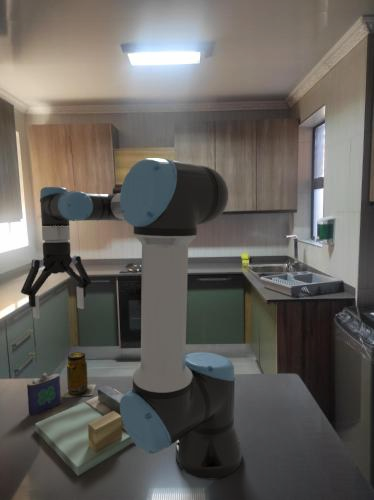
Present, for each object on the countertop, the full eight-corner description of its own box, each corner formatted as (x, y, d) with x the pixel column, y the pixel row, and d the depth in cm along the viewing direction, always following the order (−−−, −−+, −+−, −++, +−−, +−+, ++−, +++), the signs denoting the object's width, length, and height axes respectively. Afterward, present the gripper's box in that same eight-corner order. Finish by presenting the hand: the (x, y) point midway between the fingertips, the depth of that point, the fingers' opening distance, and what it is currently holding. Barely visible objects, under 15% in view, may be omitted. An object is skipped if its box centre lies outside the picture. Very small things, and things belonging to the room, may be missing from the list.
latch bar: (140, 416, 87) (140, 401, 86) (128, 423, 84) (127, 408, 84) (108, 395, 97) (108, 382, 97) (96, 401, 94) (96, 387, 94)
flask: (58, 400, 99) (57, 366, 98) (63, 404, 97) (61, 369, 96) (27, 414, 92) (25, 377, 91) (31, 418, 90) (29, 381, 89)
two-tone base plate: (162, 424, 87) (161, 397, 86) (77, 476, 70) (76, 442, 69) (114, 394, 102) (113, 371, 102) (35, 430, 85) (34, 403, 84)
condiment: (69, 386, 108) (68, 350, 107) (96, 384, 109) (95, 349, 108) (63, 398, 101) (62, 360, 100) (92, 396, 102) (90, 358, 101)
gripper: (88, 239, 108) (90, 302, 109) (5, 243, 89) (9, 319, 91) (100, 239, 102) (103, 306, 104) (15, 244, 84) (20, 325, 86)
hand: (59, 312), depth 98 cm, fingers open, 13 cm apart
